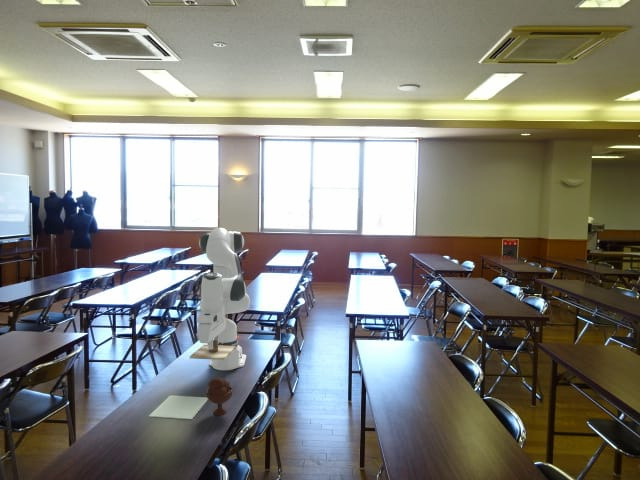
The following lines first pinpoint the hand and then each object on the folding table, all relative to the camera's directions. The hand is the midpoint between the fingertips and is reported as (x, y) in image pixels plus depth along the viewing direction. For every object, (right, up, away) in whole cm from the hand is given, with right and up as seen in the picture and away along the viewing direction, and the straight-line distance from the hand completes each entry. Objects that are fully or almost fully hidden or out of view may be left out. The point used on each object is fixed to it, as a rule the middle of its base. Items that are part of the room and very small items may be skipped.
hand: (213, 346), depth 169 cm
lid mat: (-15, -27, +6) cm, 32 cm away
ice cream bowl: (+2, -28, +2) cm, 28 cm away
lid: (0, -3, 0) cm, 2 cm away
